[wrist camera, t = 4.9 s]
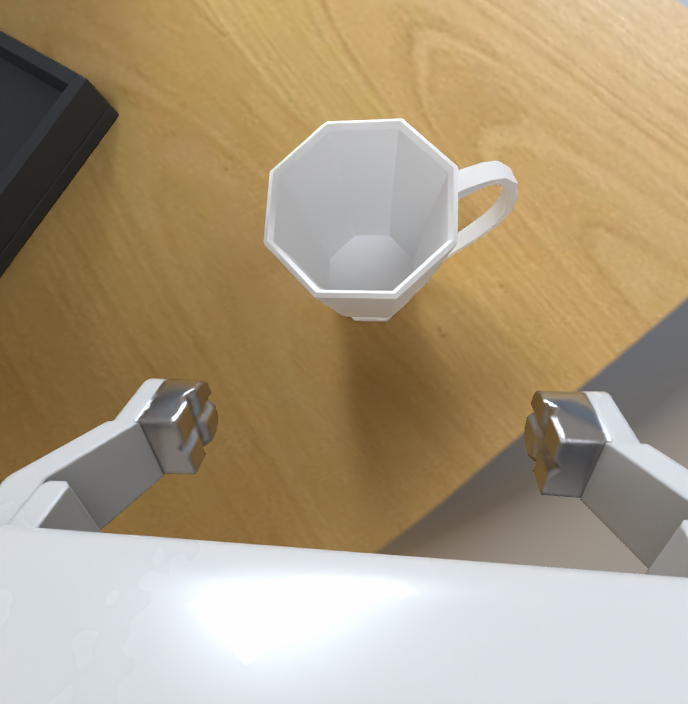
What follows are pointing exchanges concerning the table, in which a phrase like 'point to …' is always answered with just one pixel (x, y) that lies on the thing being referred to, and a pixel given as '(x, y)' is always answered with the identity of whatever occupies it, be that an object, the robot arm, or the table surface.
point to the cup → (373, 213)
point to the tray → (41, 137)
